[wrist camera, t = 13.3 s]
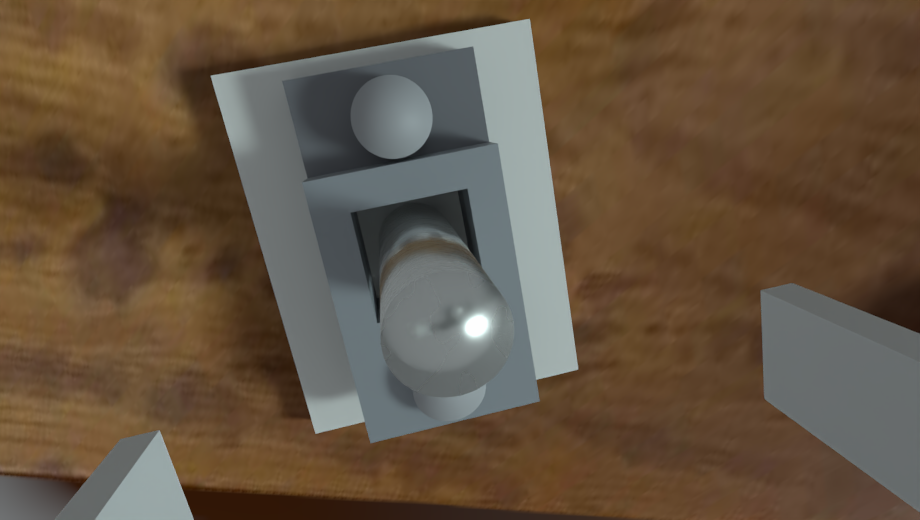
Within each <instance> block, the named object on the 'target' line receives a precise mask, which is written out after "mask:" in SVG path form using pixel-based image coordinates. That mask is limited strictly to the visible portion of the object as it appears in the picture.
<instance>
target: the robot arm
mask: <svg viewBox="0 0 920 520" xmlns="http://www.w3.org/2000/svg"><path fill="white" fill-rule="evenodd" d="M761 316H762V346H763V375H764V399H765V400H767V401H768V402H769V403H771V404H772V405H773V406H775V407H776V408H777V409H779V410H780V411H782V412H783V413H784V414H786V415H787V416H788V417H790V418H791V419H793V420H794V421H795V422H797V423H798V424H799V425H801V426H802V427H804V428H805V429H806V430H808V431H809V432H810V433H812V434H813V435H814V436H816V437H817V438H819V439H820V440H821V441H823V442H824V443H825V444H827V445H828V446H830V447H831V448H832V449H834V450H835V451H836V452H838V453H839V454H841V455H842V456H843V457H845V458H846V459H847V460H849V461H850V462H851V463H853V464H854V465H856V466H857V467H858V468H860V469H861V470H862V471H864V472H865V473H867V474H868V475H869V476H871V477H872V478H873V479H875V480H876V481H878V482H879V483H880V484H882V485H883V486H884V487H886V488H887V489H888V490H890V491H891V492H893V493H894V494H895V495H897V496H898V497H899V498H901V499H902V500H904V501H905V502H906V503H908V504H909V505H910V506H912V507H913V508H915V509H916V510H917V511H919V512H920V334H919V333H917V332H914V331H912V330H909V329H907V328H904V327H902V326H899V325H897V324H894V323H892V322H889V321H887V320H884V319H882V318H879V317H877V316H874V315H871V314H869V313H866V312H864V311H861V310H859V309H856V308H854V307H851V306H849V305H846V304H844V303H841V302H839V301H836V300H834V299H831V298H829V297H826V296H824V295H821V294H819V293H816V292H814V291H811V290H808V289H806V288H803V287H801V286H798V285H796V284H793V283H790V284H786V285H782V286H778V287H773V288H769V289H765V290H761ZM54 520H194V519H193V516H192V514H191V511H190V508H189V506H188V503H187V501H186V498H185V495H184V493H183V490H182V488H181V485H180V482H179V480H178V477H177V475H176V472H175V469H174V467H173V464H172V462H171V459H170V456H169V454H168V451H167V449H166V446H165V443H164V441H163V438H162V436H161V433H160V430H158V431H154V432H149V433H145V434H141V435H136V436H132V437H128V438H123V439H120V440H119V442H118V443H117V444H116V445H115V447H114V448H113V449H112V450H111V451H110V453H109V454H108V455H107V456H106V457H105V459H104V460H103V461H102V462H101V464H100V465H99V466H98V467H97V468H96V470H95V471H94V472H93V473H92V474H91V476H90V477H89V478H88V479H87V481H86V482H85V483H84V484H83V486H82V487H81V488H80V489H79V490H78V492H77V493H76V494H75V495H74V497H73V498H72V499H71V500H70V501H69V503H68V504H67V505H66V506H65V507H64V509H63V510H62V511H61V512H60V514H59V515H58V516H57V517H56V518H55V519H54Z"/></svg>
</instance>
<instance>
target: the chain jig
mask: <svg viewBox="0 0 920 520" xmlns="http://www.w3.org/2000/svg"><path fill="white" fill-rule="evenodd" d="M211 79H212V83H213V86H214V89H215V93H216V96H217V100H218V103H219V106H220V110H221V113H222V117H223V120H224V123H225V127H226V130H227V134H228V137H229V141H230V144H231V147H232V151H233V154H234V158H235V161H236V164H237V168H238V171H239V175H240V178H241V181H242V185H243V188H244V192H245V195H246V198H247V202H248V205H249V209H250V212H251V215H252V219H253V222H254V226H255V229H256V232H257V236H258V239H259V243H260V246H261V250H262V253H263V256H264V260H265V263H266V267H267V270H268V273H269V277H270V280H271V284H272V287H273V290H274V294H275V297H276V301H277V304H278V307H279V311H280V314H281V318H282V321H283V324H284V328H285V331H286V335H287V338H288V341H289V345H290V348H291V352H292V355H293V358H294V362H295V365H296V369H297V372H298V376H299V379H300V382H301V386H302V389H303V393H304V396H305V399H306V403H307V406H308V410H309V413H310V416H311V420H312V423H313V427H314V430H315V433H320V432H324V431H329V430H333V429H337V428H341V427H345V426H349V425H353V424H357V423H361V422H365V424H366V428H367V432H368V435H369V439H370V443H373V442H377V441H381V440H385V439H389V438H393V437H397V436H401V435H405V434H409V433H413V432H418V431H422V430H426V429H430V428H434V427H438V426H442V425H446V424H450V423H454V422H458V421H462V420H466V419H470V418H474V417H478V416H482V415H486V414H490V413H494V412H498V411H502V410H506V409H510V408H514V407H518V406H522V405H526V404H530V403H534V402H538V401H540V400H539V394H538V388H537V382H536V380H537V379H541V378H545V377H549V376H554V375H558V374H562V373H566V372H570V371H574V370H578V364H577V357H576V350H575V342H574V335H573V328H572V321H571V314H570V306H569V299H568V292H567V285H566V277H565V270H564V263H563V256H562V248H561V241H560V234H559V227H558V220H557V212H556V205H555V198H554V191H553V183H552V176H551V169H550V162H549V154H548V147H547V140H546V133H545V125H544V118H543V111H542V104H541V97H540V89H539V82H538V75H537V68H536V60H535V53H534V46H533V39H532V31H531V24H530V19H526V20H521V21H515V22H510V23H504V24H498V25H493V26H487V27H482V28H476V29H470V30H465V31H459V32H454V33H448V34H442V35H437V36H431V37H425V38H420V39H414V40H409V41H403V42H397V43H392V44H386V45H381V46H375V47H369V48H364V49H358V50H352V51H347V52H341V53H336V54H330V55H324V56H319V57H313V58H308V59H302V60H296V61H291V62H285V63H280V64H274V65H268V66H263V67H257V68H251V69H246V70H240V71H235V72H229V73H223V74H218V75H212V76H211ZM408 203H423V204H427V205H430V206H432V207H434V208H436V209H437V210H439V211H440V212H441V213H442V214H443V215H444V216H445V217H446V219H447V220H448V222H449V223H450V224H451V226H452V227H453V228H454V230H455V231H456V232H457V234H458V235H459V237H460V238H461V239H462V241H463V242H464V243H465V245H466V246H467V248H468V249H469V250H470V252H471V253H472V254H473V256H474V257H475V259H476V260H477V261H478V263H479V264H480V265H481V267H482V268H483V270H484V271H485V272H486V274H487V275H488V276H489V278H490V279H491V280H492V282H493V283H494V285H495V286H496V287H497V289H498V290H499V291H500V293H501V294H502V296H503V297H504V298H505V300H506V302H507V304H508V305H509V308H510V310H511V313H512V317H513V321H514V340H513V346H512V349H511V352H510V355H509V357H508V359H507V361H506V362H505V364H504V366H503V367H502V369H501V370H500V371H499V372H498V374H497V375H496V376H495V377H494V378H493V379H491V380H490V381H489V382H488V383H486V384H485V385H484V386H482V387H480V388H479V389H477V390H475V391H472V392H470V393H467V394H464V395H461V396H455V397H445V398H443V397H432V396H427V395H424V394H421V393H418V392H416V391H414V390H412V389H410V388H408V387H407V386H405V385H404V384H403V383H402V382H400V381H399V380H398V379H397V378H396V377H395V376H394V374H393V373H392V372H391V370H390V369H389V367H388V366H387V363H386V361H385V359H384V356H383V353H382V349H381V339H380V276H379V233H380V229H381V226H382V224H383V222H384V220H385V219H386V217H387V216H388V215H389V214H390V213H391V212H392V211H393V210H395V209H396V208H398V207H400V206H402V205H405V204H408Z"/></svg>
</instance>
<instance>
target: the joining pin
mask: <svg viewBox="0 0 920 520" xmlns="http://www.w3.org/2000/svg"><path fill="white" fill-rule="evenodd" d="M379 276H380V339H381V349H382V353H383V356H384V359H385V361H386V363H387V366H388V367H389V369H390V370H391V372H392V373H393V374H394V376H395V377H396V378H397V379H398V380H399V381H400V382H402V383H403V384H404V385H405V386H407V387H408V388H410V389H412V390H414V391H416V392H418V393H421V394H424V395H427V396H432V397H443V398H445V397H455V396H461V395H464V394H467V393H470V392H472V391H475V390H477V389H479V388H480V387H482V386H484V385H485V384H486V383H488V382H489V381H490V380H491V379H493V378H494V377H495V376H496V375H497V374H498V372H499V371H500V370H501V369H502V367H503V366H504V364H505V362H506V361H507V359H508V357H509V355H510V352H511V349H512V346H513V340H514V321H513V317H512V313H511V310H510V308H509V305H508V304H507V302H506V300H505V298H504V297H503V296H502V294H501V293H500V291H499V290H498V289H497V287H496V286H495V285H494V283H493V282H492V280H491V279H490V278H489V276H488V275H487V274H486V272H485V271H484V270H483V268H482V267H481V265H480V264H479V263H478V261H477V260H476V259H475V257H474V256H473V254H472V253H471V252H470V250H469V249H468V248H467V246H466V245H465V243H464V242H463V241H462V239H461V238H460V237H459V235H458V234H457V232H456V231H455V230H454V228H453V227H452V226H451V224H450V223H449V222H448V220H447V219H446V217H445V216H444V215H443V214H442V213H441V212H440V211H439V210H437V209H436V208H434V207H432V206H430V205H427V204H423V203H408V204H405V205H402V206H400V207H398V208H396V209H395V210H393V211H392V212H391V213H390V214H389V215H388V216H387V217H386V219H385V220H384V222H383V224H382V226H381V229H380V233H379Z"/></svg>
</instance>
